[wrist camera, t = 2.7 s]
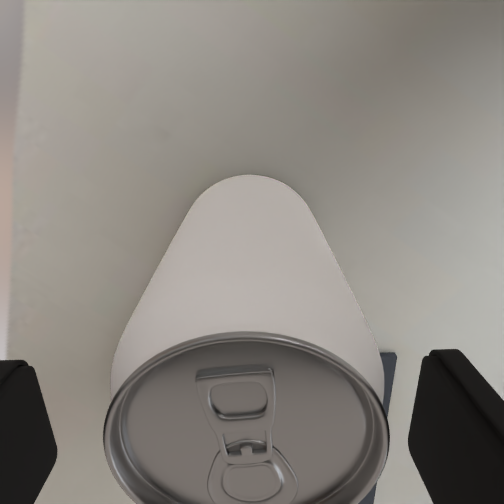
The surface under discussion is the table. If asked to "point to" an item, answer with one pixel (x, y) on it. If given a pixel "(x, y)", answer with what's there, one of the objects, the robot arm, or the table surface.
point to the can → (247, 364)
